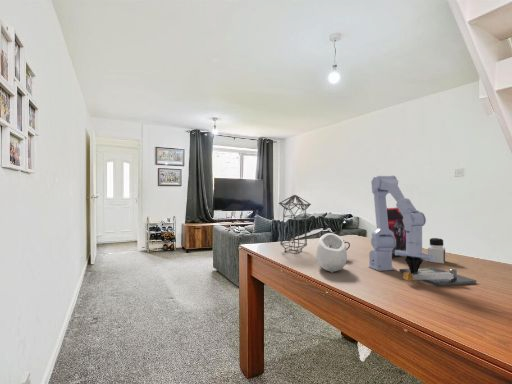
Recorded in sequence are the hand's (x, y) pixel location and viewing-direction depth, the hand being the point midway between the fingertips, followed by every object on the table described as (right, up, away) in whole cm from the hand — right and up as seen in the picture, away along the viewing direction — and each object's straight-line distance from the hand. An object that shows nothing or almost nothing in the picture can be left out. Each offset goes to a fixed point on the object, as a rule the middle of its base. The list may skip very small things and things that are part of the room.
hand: (414, 275), depth 115 cm
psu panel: (+12, -2, +6) cm, 14 cm away
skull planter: (-29, -3, +20) cm, 35 cm away
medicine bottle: (+30, -3, +34) cm, 46 cm away
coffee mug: (-18, -3, +42) cm, 45 cm away
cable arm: (+5, -1, -3) cm, 6 cm away
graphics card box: (+14, -3, +48) cm, 50 cm away
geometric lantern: (-40, -3, +58) cm, 71 cm away
